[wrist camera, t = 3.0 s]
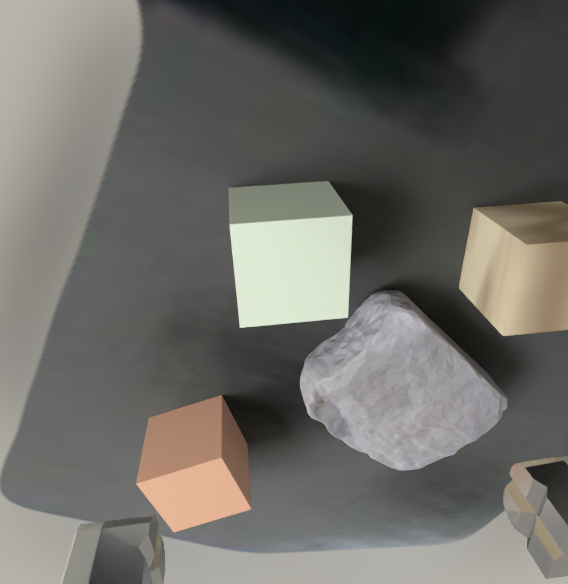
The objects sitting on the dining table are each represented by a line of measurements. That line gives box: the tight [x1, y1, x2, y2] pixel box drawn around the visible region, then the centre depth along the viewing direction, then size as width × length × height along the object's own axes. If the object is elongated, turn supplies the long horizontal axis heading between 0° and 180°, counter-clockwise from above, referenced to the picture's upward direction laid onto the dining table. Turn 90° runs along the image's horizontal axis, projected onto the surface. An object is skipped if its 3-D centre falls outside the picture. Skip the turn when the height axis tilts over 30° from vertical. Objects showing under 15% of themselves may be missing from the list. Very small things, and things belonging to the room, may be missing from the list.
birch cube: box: [459, 201, 568, 336], centre depth 23 cm, size 5×5×5 cm
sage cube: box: [229, 181, 353, 328], centre depth 21 cm, size 5×5×5 cm
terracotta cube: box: [136, 395, 251, 532], centre depth 28 cm, size 5×5×5 cm
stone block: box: [300, 290, 508, 470], centre depth 28 cm, size 12×5×10 cm
